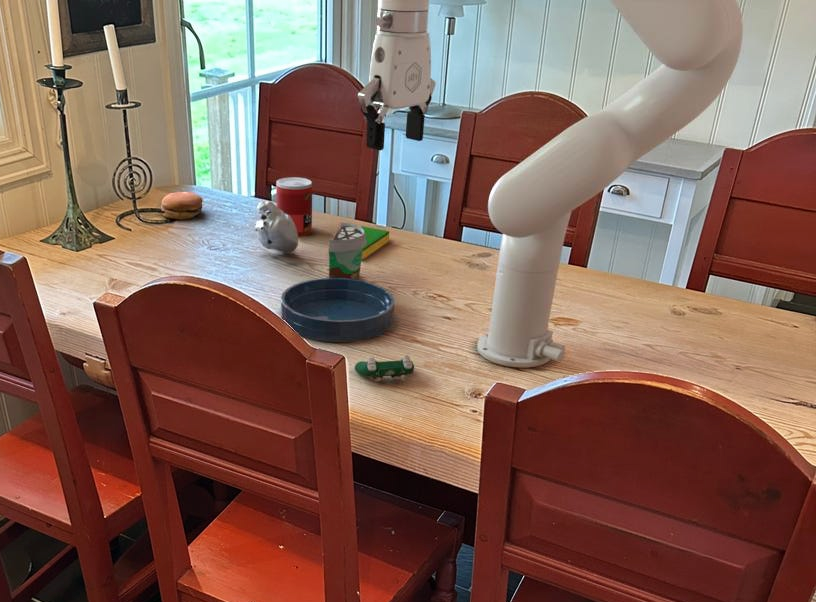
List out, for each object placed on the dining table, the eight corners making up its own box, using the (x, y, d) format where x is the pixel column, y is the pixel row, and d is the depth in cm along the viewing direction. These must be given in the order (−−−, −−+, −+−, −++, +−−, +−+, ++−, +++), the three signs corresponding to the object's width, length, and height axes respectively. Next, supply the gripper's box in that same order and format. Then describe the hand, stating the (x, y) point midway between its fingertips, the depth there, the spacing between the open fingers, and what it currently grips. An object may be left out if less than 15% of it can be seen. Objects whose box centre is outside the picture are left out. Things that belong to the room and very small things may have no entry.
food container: (358, 295, 162) (361, 243, 157) (327, 291, 163) (328, 240, 158) (369, 272, 172) (372, 223, 167) (340, 269, 173) (341, 221, 168)
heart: (295, 266, 173) (298, 205, 168) (250, 261, 174) (252, 201, 169) (305, 258, 182) (308, 200, 177) (262, 254, 184) (264, 196, 179)
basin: (416, 320, 153) (417, 299, 151) (339, 354, 141) (340, 332, 139) (335, 289, 164) (335, 269, 162) (258, 318, 152) (257, 297, 150)
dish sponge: (332, 254, 181) (333, 243, 180) (360, 236, 191) (361, 225, 190) (362, 260, 178) (363, 248, 177) (389, 241, 189) (390, 230, 187)
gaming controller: (355, 387, 135) (362, 376, 129) (353, 364, 136) (359, 352, 130) (411, 384, 137) (420, 372, 131) (409, 361, 137) (417, 349, 131)
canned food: (311, 237, 190) (311, 186, 184) (275, 236, 190) (275, 185, 184) (312, 226, 196) (313, 177, 190) (278, 225, 196) (277, 176, 190)
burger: (166, 221, 196) (164, 201, 194) (158, 210, 203) (156, 190, 201) (208, 218, 199) (207, 198, 197) (198, 207, 206) (197, 187, 204)
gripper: (383, 29, 119) (376, 157, 128) (457, 22, 129) (446, 140, 139) (344, 24, 123) (341, 148, 133) (419, 17, 133) (410, 132, 143)
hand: (394, 143), depth 136 cm, fingers open, 9 cm apart
